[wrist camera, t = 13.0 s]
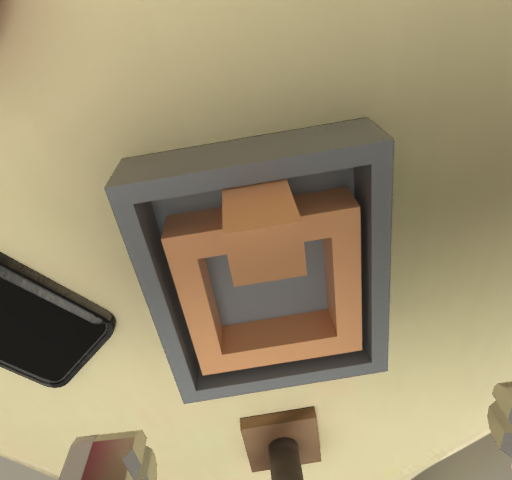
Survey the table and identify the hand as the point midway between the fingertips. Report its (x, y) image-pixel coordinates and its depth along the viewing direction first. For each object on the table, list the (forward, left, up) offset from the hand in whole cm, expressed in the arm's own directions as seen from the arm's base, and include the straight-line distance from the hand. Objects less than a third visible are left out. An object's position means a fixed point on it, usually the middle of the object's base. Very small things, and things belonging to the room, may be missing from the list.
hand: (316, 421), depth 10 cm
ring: (+1, +5, -14) cm, 15 cm away
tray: (+1, +5, -15) cm, 16 cm away
